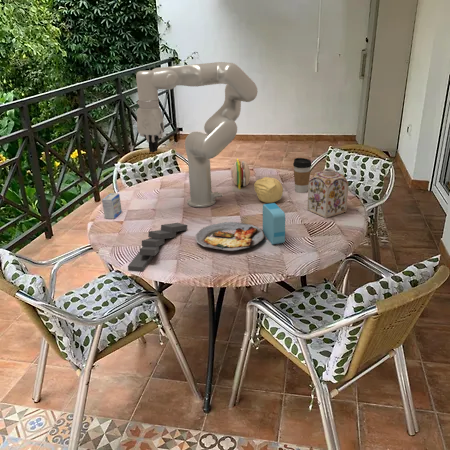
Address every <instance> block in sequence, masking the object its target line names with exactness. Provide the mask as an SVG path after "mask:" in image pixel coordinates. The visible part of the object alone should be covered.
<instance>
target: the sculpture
mask: <svg viewBox="0 0 450 450" xmlns="http://www.w3.org/2000/svg"><path fill="white" fill-rule="evenodd" d="M253 186H254V191H255V193H256V195H257V197H258V199H259V201H261V202H263V203H264V204H271V203H275V202H278V201H280V200H281V198H282V197H283V193H284V189H283V185H282V183H281V182H280V181H279V180H278V179H276V178H275V177H268V176H264V177H263V178H259V179H257V180H256V181H255V182H254V185H253Z"/></svg>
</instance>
